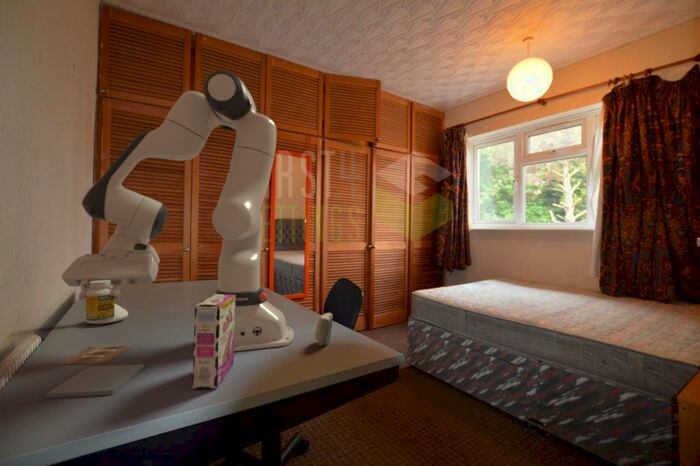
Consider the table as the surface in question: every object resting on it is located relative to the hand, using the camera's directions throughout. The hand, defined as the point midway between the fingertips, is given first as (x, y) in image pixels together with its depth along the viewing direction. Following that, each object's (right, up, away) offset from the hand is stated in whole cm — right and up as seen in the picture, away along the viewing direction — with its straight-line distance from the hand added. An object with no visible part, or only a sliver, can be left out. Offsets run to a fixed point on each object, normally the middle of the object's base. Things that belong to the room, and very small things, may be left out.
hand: (98, 297), depth 73 cm
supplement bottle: (0, -6, +1) cm, 6 cm away
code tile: (-1, -14, +1) cm, 14 cm away
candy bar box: (+32, -15, -9) cm, 36 cm away
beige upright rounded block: (+53, -15, +11) cm, 56 cm away
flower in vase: (-19, -14, +26) cm, 35 cm away
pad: (+10, -14, -12) cm, 21 cm away
